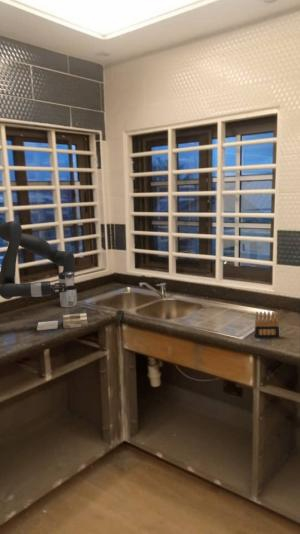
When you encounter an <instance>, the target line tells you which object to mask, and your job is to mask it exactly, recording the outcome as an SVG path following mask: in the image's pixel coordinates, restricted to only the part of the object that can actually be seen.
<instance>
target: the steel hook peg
mask: <svg viewBox="0 0 300 534" xmlns="http://www.w3.org/2000/svg"><path fill="white" fill-rule="evenodd" d="M75 272H76V271H75ZM75 272H64V273H63V275H64V276H65V284H66V286H71V285H74V284H73V275H74V276H75V274H76V273H75ZM66 298H67V306H73V305H75V298H74V290H68V291H67V292H66ZM75 306H76V305H75ZM73 307H74V306H73Z"/></svg>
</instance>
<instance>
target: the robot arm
mask: <svg viewBox="0 0 300 534" xmlns="http://www.w3.org/2000/svg"><path fill="white" fill-rule="evenodd" d="M0 239H2V241H5V242H8V245H7V248H6V251H5V253H4V255H3V257H2V259H1V264H0V279H1V282H0V283H1V285H0V297H2V298H3V299H5V300H11V299H13V298H14V297H15V298H17V297H18V298H19V297H20V298H32V297H36V298H38V297H51V295H52V293H54V294H59V301H60V307H61V308H71V307H75V306H77V305H78V296H77V295H78V294H77V288H76V283H75V274H74V275H73V284H74V285H71V286H66V284H65V276H64V275H63V273H64V272H76V259H75V255H74V253H73V252H72V251H66V250H58V249H56V248H53V247H52V246H51V244H50V243H49V242H48V241H47V240H45V239H43V238H41V237H40V236H37V235H34V234H29V233H23V228H22V225H21V223H20V222H19V221H16V220H12V221H6V222H2V223H1V224H0ZM19 247H21V248H23V249H25V250H27V251H29V252H30V253H32V254H36V255H37V256H39V257H42V258H44V259H47V260H49V261H50V262H52V263H53V264H55V265H56V266H58V267H62V272H59V273H58V275H57V276H58V277H57V278H58V282H55V283H53V284H51V281H50V280H47V281H46V280H45V281H34V282H25V283H24V282H23V283H16V267H17V258H18V252H19V250H20V248H19ZM68 290H74V298H75V305H73V306H67V298H66V292H67V291H68Z"/></svg>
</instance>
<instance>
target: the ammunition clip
mask: <svg viewBox="0 0 300 534" xmlns="http://www.w3.org/2000/svg"><path fill="white" fill-rule="evenodd" d="M266 313H267V314H266ZM254 319H255V320H254V332H253V334H254V335H253V337H254V338H255V339H258V338H259V339H261V338H265V339H266V338H273V339H275V338H280V327H279V326H280V324H279V323H280V321H279V311H276V312H275V313H274V311H272V312H271V313H270V311H268V312H266V311H263V313H262V311H259V314H258V311H256V312H255V318H254Z"/></svg>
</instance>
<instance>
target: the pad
mask: <svg viewBox="0 0 300 534" xmlns="http://www.w3.org/2000/svg"><path fill="white" fill-rule="evenodd" d="M58 328H59V321H58V320H52V321H51V320H49V321H39V322H38V323H37V327H36V330H37V331H45V330H57V329H58Z"/></svg>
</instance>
